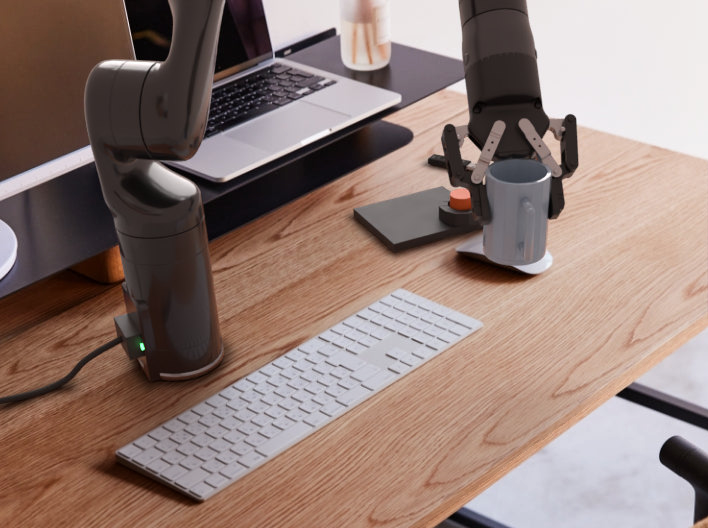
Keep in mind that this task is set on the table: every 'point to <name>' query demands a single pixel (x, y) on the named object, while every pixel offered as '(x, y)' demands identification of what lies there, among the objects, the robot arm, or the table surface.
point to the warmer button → (460, 199)
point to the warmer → (415, 219)
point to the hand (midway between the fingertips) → (519, 219)
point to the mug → (517, 211)
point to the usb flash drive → (440, 161)
